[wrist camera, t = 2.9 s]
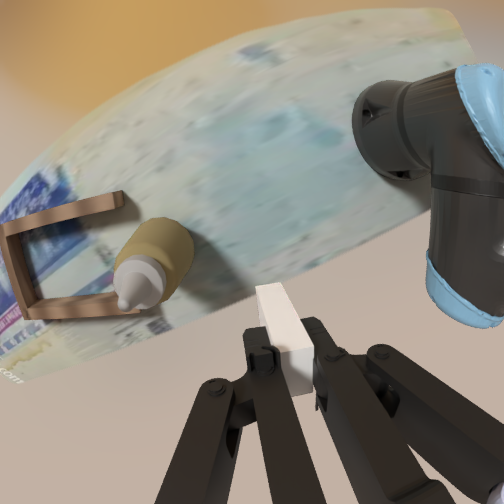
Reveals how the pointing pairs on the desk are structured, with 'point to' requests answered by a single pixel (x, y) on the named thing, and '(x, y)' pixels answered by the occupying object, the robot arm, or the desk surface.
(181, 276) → the squeeze bottle
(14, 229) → the bottle rest
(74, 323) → the desk surface
